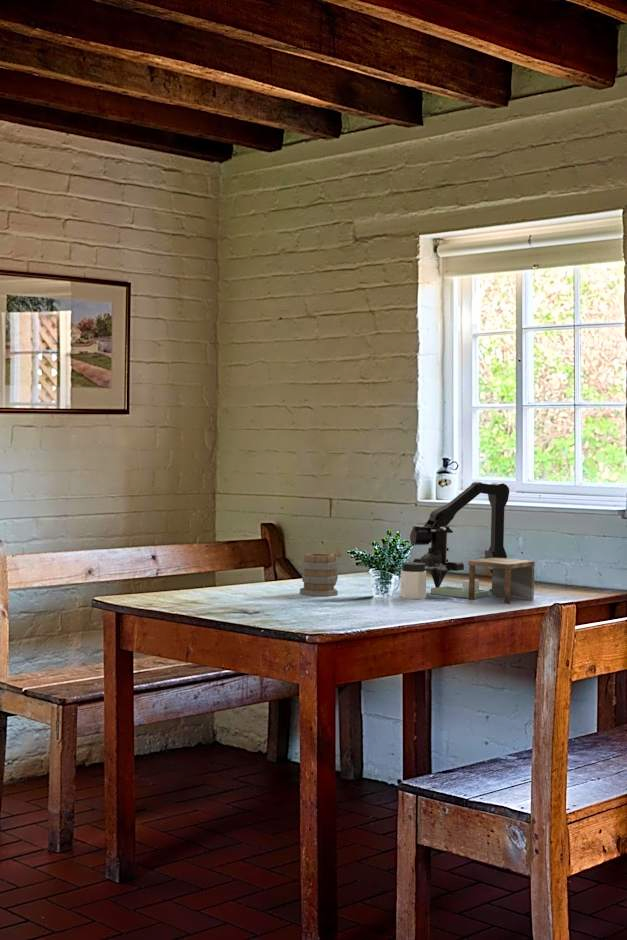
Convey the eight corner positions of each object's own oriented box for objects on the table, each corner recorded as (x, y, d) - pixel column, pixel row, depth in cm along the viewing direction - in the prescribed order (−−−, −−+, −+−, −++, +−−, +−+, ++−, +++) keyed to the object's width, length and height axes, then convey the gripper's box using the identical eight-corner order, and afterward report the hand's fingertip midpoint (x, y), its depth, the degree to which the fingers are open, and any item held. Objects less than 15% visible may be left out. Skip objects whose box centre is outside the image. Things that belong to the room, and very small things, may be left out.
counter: (493, 595, 458) (494, 557, 458) (533, 599, 448) (534, 561, 448) (467, 599, 444) (468, 560, 443) (508, 604, 434) (509, 564, 434)
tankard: (322, 597, 440) (323, 554, 440) (293, 594, 448) (294, 551, 448) (355, 592, 456) (356, 550, 456) (327, 589, 464) (328, 548, 463)
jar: (397, 596, 449) (398, 562, 448) (418, 595, 451) (419, 561, 451) (406, 599, 440) (407, 564, 440) (428, 599, 443) (429, 564, 442)
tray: (445, 591, 466) (446, 576, 465) (488, 596, 455) (489, 580, 454) (430, 593, 458) (431, 578, 458) (474, 598, 447) (474, 582, 446)
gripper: (404, 544, 461) (403, 587, 462) (448, 548, 449) (447, 592, 450) (422, 542, 470) (420, 585, 470) (465, 546, 458) (464, 590, 459)
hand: (437, 588), depth 462 cm, fingers closed
